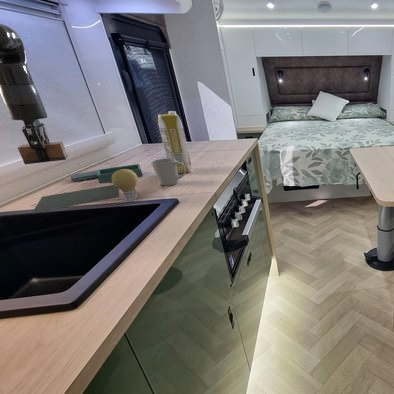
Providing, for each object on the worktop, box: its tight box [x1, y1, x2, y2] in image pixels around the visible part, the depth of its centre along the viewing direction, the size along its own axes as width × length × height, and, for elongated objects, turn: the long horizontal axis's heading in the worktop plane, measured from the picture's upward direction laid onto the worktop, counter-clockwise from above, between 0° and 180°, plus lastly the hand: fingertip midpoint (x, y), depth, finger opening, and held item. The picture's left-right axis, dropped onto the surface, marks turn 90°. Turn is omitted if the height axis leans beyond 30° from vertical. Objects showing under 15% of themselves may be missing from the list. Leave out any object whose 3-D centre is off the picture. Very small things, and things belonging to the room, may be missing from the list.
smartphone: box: [70, 166, 115, 183], centre depth 115 cm, size 8×2×15 cm
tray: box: [96, 163, 143, 184], centre depth 112 cm, size 13×9×4 cm
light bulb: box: [111, 169, 139, 201], centre depth 90 cm, size 6×6×10 cm
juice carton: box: [157, 110, 192, 175], centre depth 116 cm, size 9×8×24 cm
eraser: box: [17, 140, 69, 165], centre depth 89 cm, size 9×5×5 cm, turn 127°
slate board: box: [31, 184, 120, 214], centre depth 93 cm, size 20×16×1 cm
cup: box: [151, 157, 187, 187], centre depth 105 cm, size 8×10×8 cm
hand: (46, 159), depth 89 cm, fingers closed on eraser, 5 cm apart
